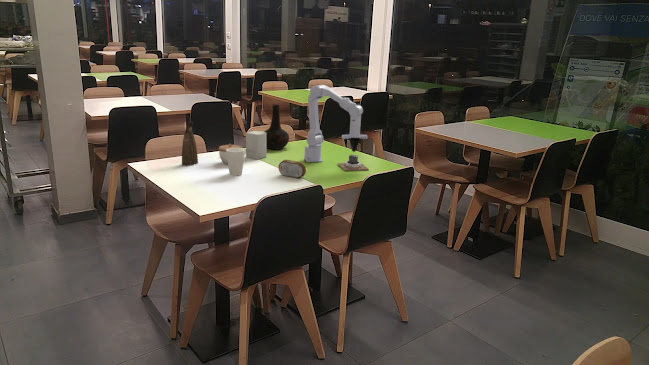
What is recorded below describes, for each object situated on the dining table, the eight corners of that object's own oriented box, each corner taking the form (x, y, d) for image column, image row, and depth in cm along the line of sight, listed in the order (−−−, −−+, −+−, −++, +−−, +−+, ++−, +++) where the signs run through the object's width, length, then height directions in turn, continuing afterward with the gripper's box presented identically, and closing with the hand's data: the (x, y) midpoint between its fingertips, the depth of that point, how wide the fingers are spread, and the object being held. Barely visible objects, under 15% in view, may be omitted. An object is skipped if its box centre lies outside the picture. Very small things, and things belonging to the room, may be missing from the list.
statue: (194, 166, 262) (190, 120, 255) (180, 166, 262) (176, 120, 255) (199, 162, 270) (195, 118, 263) (186, 162, 270) (182, 117, 264)
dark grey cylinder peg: (350, 167, 270) (350, 156, 268) (347, 165, 275) (347, 154, 273) (358, 167, 271) (359, 156, 270) (355, 164, 276) (356, 154, 274)
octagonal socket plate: (344, 171, 265) (344, 165, 264) (337, 164, 278) (337, 159, 277) (368, 170, 268) (369, 165, 268) (360, 163, 281) (360, 158, 280)
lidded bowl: (214, 163, 268) (214, 144, 265) (227, 159, 280) (226, 140, 276) (234, 167, 264) (233, 147, 261) (246, 162, 275) (245, 143, 272)
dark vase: (257, 149, 305) (257, 105, 297) (265, 144, 322) (265, 102, 314) (285, 152, 302) (285, 107, 294) (291, 146, 319) (292, 103, 311)
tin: (305, 178, 249) (306, 162, 246) (303, 179, 246) (303, 163, 244) (280, 173, 255) (280, 158, 252) (277, 175, 252) (277, 159, 250)
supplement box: (267, 157, 288) (267, 132, 284) (257, 159, 281) (257, 134, 277) (255, 154, 293) (255, 130, 288) (245, 157, 285) (245, 132, 281)
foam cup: (229, 177, 245) (229, 152, 241) (224, 172, 252) (223, 148, 249) (247, 175, 249) (247, 151, 245) (241, 171, 257) (241, 147, 253)
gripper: (344, 128, 261) (343, 153, 265) (369, 128, 265) (368, 152, 269) (341, 126, 267) (339, 150, 271) (365, 126, 271) (364, 149, 275)
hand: (353, 151), depth 270 cm, fingers closed
